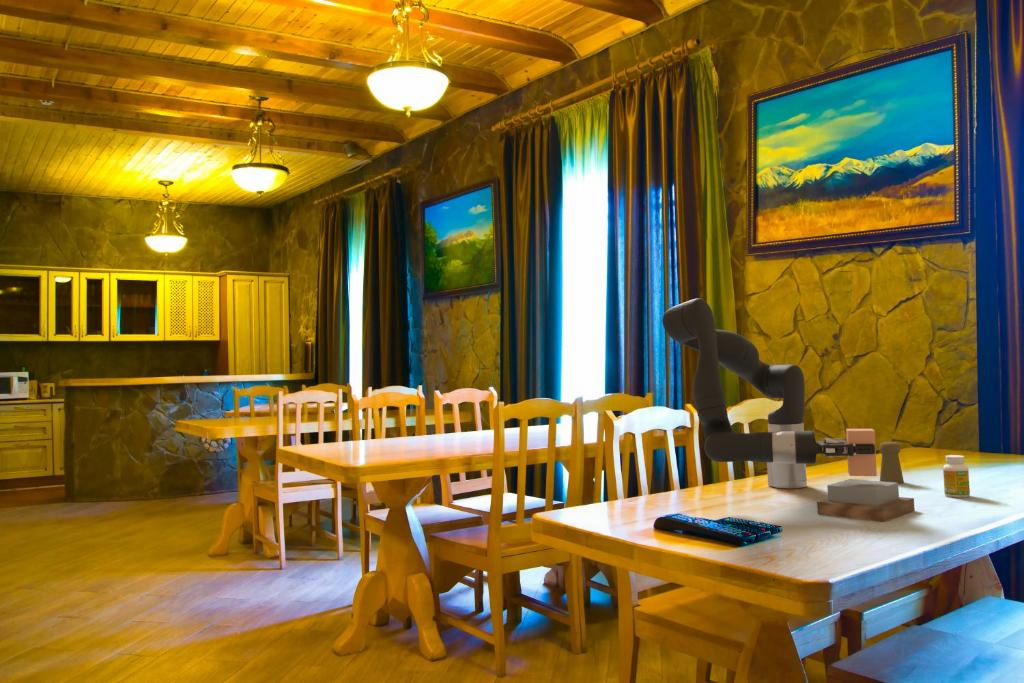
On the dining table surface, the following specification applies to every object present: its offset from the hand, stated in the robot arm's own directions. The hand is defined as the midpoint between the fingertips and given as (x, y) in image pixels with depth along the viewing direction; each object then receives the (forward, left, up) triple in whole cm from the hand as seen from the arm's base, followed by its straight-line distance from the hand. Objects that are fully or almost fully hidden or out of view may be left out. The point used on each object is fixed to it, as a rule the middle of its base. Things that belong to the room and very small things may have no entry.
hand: (873, 447), depth 180 cm
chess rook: (-15, +42, -15) cm, 47 cm away
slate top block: (-2, -1, -12) cm, 12 cm away
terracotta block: (-2, -1, -6) cm, 7 cm away
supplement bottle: (+6, +30, -15) cm, 34 cm away
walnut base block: (-2, -1, -15) cm, 15 cm away
